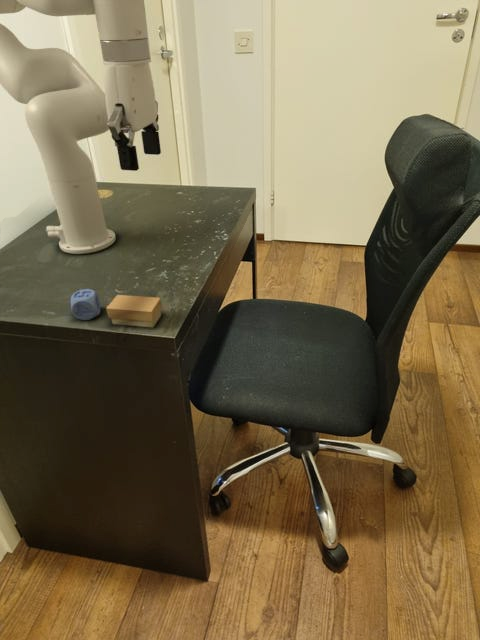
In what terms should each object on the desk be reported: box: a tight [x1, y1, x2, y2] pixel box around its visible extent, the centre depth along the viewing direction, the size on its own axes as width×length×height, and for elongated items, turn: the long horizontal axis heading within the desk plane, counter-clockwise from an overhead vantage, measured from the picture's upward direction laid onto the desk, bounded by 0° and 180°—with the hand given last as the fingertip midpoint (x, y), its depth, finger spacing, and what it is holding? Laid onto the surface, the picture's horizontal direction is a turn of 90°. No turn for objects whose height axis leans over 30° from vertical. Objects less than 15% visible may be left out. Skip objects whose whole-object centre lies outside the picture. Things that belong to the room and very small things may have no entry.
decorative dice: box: [70, 288, 101, 321], centre depth 81 cm, size 4×4×4 cm
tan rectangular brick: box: [106, 294, 163, 328], centre depth 79 cm, size 8×4×3 cm, turn 78°
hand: (141, 161), depth 84 cm, fingers open, 9 cm apart
